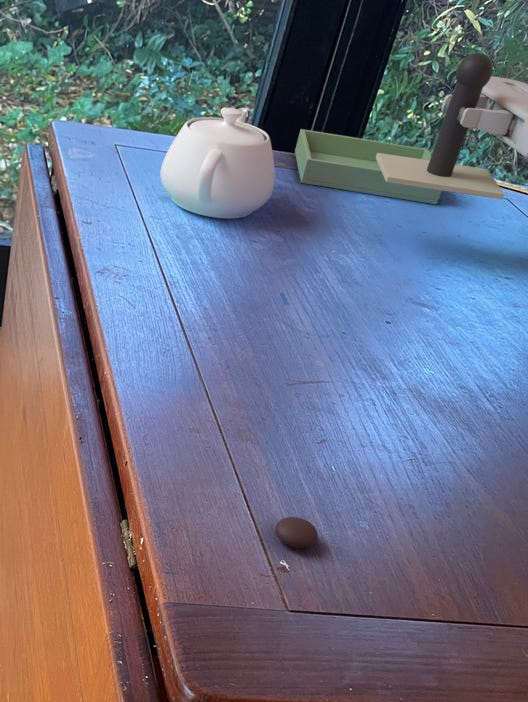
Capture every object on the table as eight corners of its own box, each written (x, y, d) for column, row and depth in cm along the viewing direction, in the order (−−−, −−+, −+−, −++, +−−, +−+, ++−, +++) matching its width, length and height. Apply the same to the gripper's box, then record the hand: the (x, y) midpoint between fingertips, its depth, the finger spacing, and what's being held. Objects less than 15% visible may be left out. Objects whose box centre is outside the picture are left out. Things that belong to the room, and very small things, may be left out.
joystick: (485, 174, 117) (531, 53, 108) (502, 199, 110) (553, 72, 102) (375, 157, 117) (413, 35, 108) (385, 182, 110) (426, 53, 102)
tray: (420, 171, 142) (428, 149, 140) (436, 204, 132) (445, 181, 130) (294, 151, 143) (300, 128, 141) (301, 183, 132) (307, 159, 130)
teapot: (252, 245, 113) (277, 144, 106) (136, 218, 115) (154, 118, 108) (279, 189, 129) (303, 98, 122) (178, 167, 131) (195, 76, 124)
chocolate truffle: (266, 542, 70) (272, 524, 69) (281, 523, 72) (287, 505, 71) (305, 559, 69) (312, 541, 68) (320, 539, 71) (326, 521, 70)
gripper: (536, 65, 116) (426, 53, 114) (630, 116, 101) (506, 105, 99) (514, 123, 120) (407, 113, 118) (601, 181, 106) (481, 171, 103)
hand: (453, 110), depth 109 cm, fingers closed on joystick, 3 cm apart
